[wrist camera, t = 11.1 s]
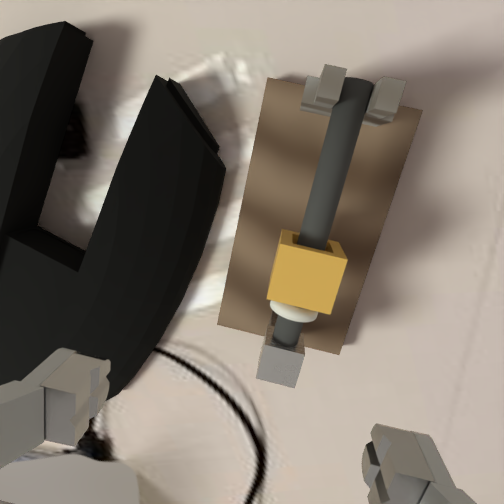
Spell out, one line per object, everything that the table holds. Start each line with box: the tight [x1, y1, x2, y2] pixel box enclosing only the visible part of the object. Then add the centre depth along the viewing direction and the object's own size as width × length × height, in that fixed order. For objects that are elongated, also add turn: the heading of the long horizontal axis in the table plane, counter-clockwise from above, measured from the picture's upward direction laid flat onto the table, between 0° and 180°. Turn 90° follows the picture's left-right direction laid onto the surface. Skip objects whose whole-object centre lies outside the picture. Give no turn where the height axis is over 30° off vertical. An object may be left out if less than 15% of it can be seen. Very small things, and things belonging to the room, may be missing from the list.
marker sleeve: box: [267, 229, 348, 315], centre depth 24 cm, size 4×4×4 cm
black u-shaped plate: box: [0, 21, 226, 401], centre depth 32 cm, size 25×41×5 cm, turn 153°
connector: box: [256, 310, 305, 388], centre depth 28 cm, size 3×3×7 cm
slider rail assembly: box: [217, 64, 423, 355], centre depth 26 cm, size 22×12×10 cm, turn 168°
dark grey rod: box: [270, 77, 373, 347], centre depth 23 cm, size 18×4×4 cm, turn 168°
